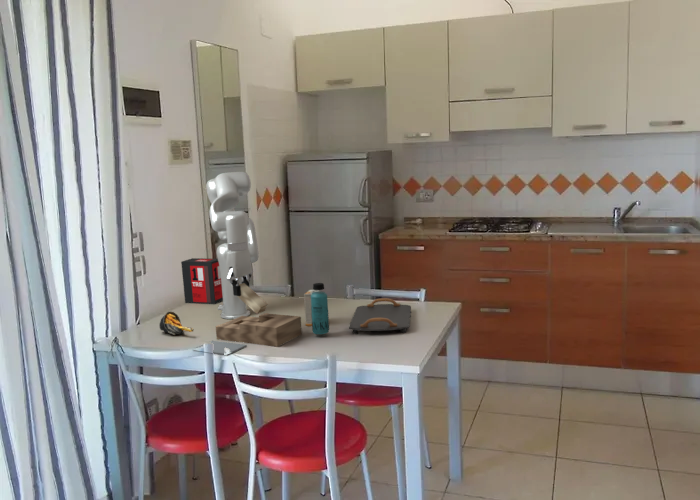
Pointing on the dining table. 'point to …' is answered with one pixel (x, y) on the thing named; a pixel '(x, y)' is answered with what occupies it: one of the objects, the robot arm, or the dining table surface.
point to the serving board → (381, 317)
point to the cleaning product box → (202, 281)
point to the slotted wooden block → (261, 329)
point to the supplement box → (308, 306)
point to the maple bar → (252, 299)
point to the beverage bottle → (319, 310)
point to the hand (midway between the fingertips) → (241, 293)
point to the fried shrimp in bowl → (172, 324)
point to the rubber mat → (221, 345)
